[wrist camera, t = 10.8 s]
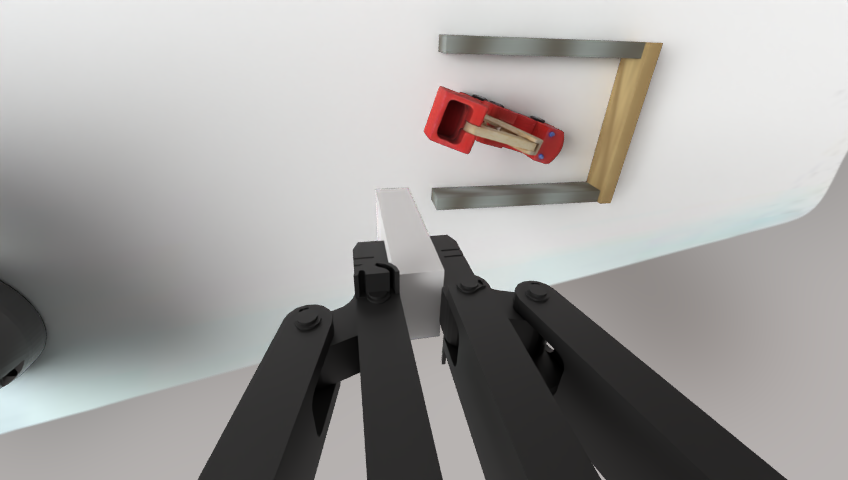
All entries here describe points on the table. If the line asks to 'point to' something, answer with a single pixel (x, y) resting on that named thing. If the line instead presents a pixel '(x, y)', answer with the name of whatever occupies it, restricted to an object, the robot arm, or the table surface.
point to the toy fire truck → (489, 127)
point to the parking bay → (614, 131)
